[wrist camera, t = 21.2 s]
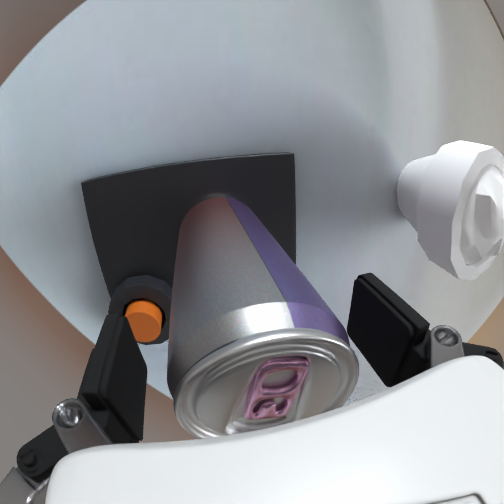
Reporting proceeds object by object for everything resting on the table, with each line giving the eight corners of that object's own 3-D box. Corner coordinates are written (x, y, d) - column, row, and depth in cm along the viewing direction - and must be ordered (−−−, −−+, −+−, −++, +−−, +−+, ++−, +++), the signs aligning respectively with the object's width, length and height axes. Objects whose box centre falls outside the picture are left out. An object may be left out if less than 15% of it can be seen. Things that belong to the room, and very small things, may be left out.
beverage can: (264, 200, 20) (396, 323, 7) (250, 272, 22) (325, 438, 9) (183, 190, 19) (163, 325, 5) (176, 266, 21) (170, 451, 7)
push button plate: (127, 326, 23) (122, 347, 21) (87, 179, 18) (72, 186, 15) (290, 303, 26) (301, 321, 23) (288, 152, 20) (302, 154, 18)
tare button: (132, 330, 21) (129, 343, 19) (122, 301, 20) (117, 313, 18) (166, 326, 21) (165, 340, 20) (157, 296, 20) (155, 309, 18)
